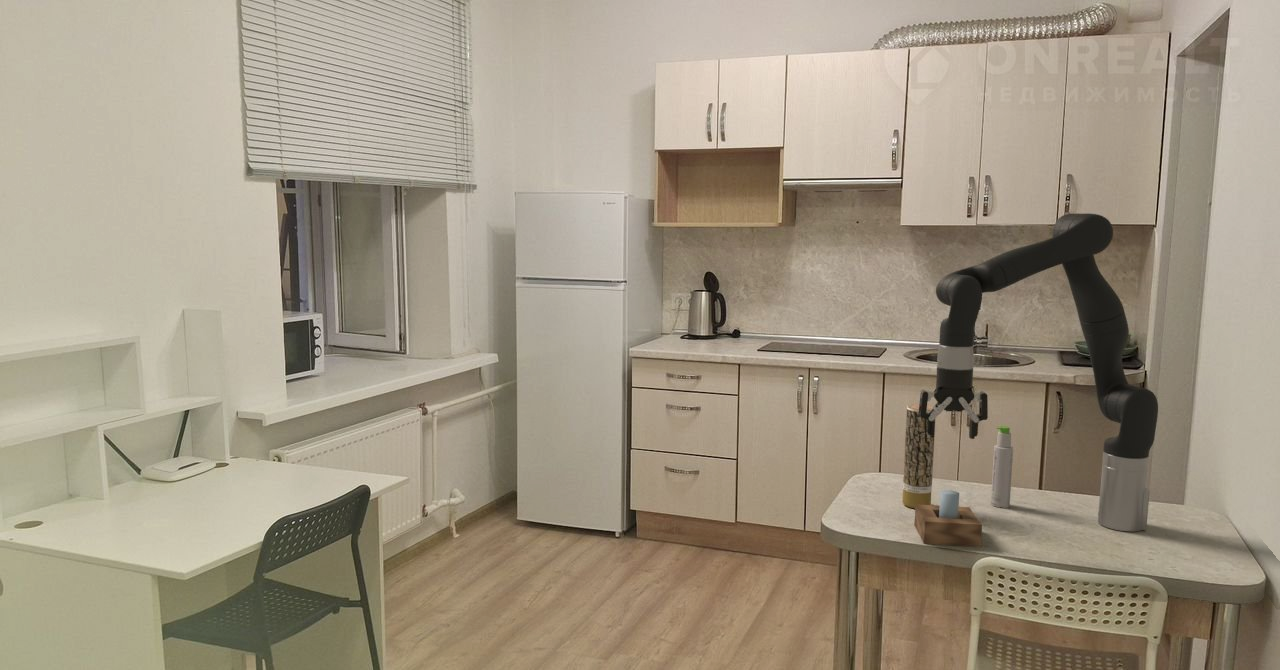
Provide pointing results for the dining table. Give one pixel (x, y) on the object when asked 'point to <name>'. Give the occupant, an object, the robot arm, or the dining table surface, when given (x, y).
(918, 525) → the socket block
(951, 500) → the peg
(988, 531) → the dining table surface
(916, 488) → the brown bark cylinder
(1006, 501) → the bottle
